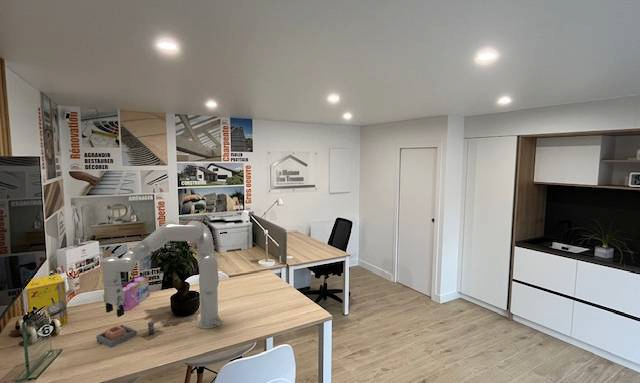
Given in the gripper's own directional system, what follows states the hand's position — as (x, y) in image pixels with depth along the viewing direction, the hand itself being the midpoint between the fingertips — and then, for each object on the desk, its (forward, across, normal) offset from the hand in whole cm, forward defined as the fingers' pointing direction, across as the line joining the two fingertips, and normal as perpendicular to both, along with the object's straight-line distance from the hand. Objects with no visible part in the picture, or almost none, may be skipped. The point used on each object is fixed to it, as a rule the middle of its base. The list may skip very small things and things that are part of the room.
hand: (115, 313), depth 170 cm
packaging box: (+14, +50, +10) cm, 53 cm away
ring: (+13, +1, +1) cm, 13 cm away
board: (+15, -11, -11) cm, 22 cm away
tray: (+14, +1, 0) cm, 14 cm away
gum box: (+15, +35, -31) cm, 49 cm away
